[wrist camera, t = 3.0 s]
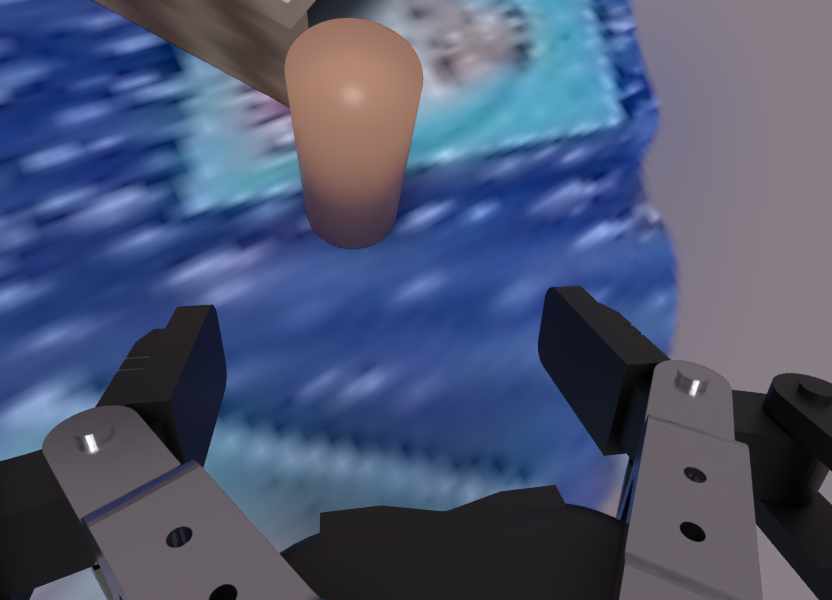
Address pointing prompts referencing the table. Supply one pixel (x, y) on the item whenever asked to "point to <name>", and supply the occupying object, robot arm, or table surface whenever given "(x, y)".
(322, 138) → the tan dome-topped peg
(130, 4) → the wooden stand
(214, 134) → the table surface
